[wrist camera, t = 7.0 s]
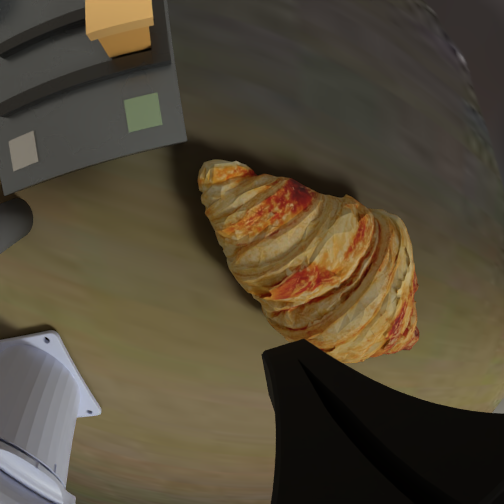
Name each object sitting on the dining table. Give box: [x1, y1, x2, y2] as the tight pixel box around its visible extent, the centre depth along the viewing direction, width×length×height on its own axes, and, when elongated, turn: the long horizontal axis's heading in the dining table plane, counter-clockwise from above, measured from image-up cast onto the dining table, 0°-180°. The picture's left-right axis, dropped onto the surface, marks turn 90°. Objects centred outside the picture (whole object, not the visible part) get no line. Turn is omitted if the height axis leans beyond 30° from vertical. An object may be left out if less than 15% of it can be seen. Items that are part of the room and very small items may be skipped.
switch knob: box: [85, 0, 154, 58], centre depth 9 cm, size 2×3×4 cm
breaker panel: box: [0, 0, 187, 196], centre depth 11 cm, size 10×12×3 cm
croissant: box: [198, 159, 419, 363], centre depth 18 cm, size 21×10×8 cm, turn 51°
